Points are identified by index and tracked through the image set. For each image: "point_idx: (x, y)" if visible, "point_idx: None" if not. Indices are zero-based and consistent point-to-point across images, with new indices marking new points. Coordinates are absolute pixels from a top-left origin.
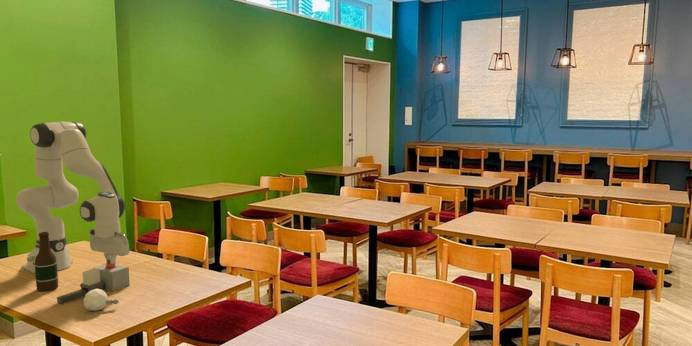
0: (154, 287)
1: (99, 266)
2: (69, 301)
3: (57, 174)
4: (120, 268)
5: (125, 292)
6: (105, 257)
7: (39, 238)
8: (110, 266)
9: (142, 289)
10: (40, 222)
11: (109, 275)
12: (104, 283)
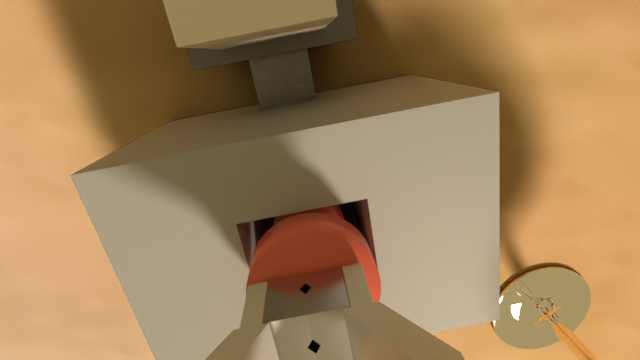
0: (43, 336)
1: (479, 185)
2: None
3: None
4: (169, 308)
5: (67, 168)
6: (398, 322)
7: None
8: (257, 250)
9: (54, 273)
10: None
11: (153, 147)
12: (262, 106)
